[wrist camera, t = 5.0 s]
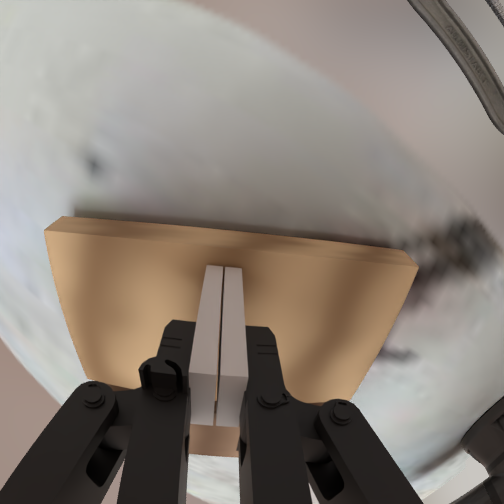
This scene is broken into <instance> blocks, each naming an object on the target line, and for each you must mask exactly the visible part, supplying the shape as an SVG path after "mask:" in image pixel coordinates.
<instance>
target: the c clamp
mask: <svg viewBox="0 0 504 504" xmlns="http://www.w3.org/2000/svg"><path fill="white" fill-rule="evenodd" d="M407 1H408V2H409V4H410V5H411V6H412V7H413V9H414V10H415V11H416V12H417V13H418V14H419V16H420V17H421V18H422V19H423V20H424V21H425V22H426V24H427V25H428V26H429V27H430V29H431V30H432V31H433V32H434V33H435V35H436V36H437V37H438V38H439V40H440V41H441V42H442V43H443V45H444V46H445V48H446V49H447V50H448V52H449V53H450V54H451V56H452V57H453V59H454V60H455V61H456V63H457V64H458V66H459V67H460V68H461V70H462V72H463V73H464V75H465V76H466V78H467V80H468V81H469V83H470V85H471V86H472V88H473V90H474V91H475V93H476V94H477V96H478V98H479V100H480V102H481V103H482V105H483V107H484V109H485V111H486V113H487V115H488V116H489V118H490V120H491V121H492V123H493V124H494V125H495V127H496V128H497V129H498V130H499V131H500V132H501V133H502V134H503V135H504V87H503V85H502V83H501V81H500V79H499V77H498V75H497V74H496V72H495V70H494V68H493V67H492V65H491V64H490V62H489V60H488V58H487V57H486V55H485V54H484V52H483V51H482V49H481V47H480V46H479V45H478V43H477V41H476V40H475V39H474V37H473V36H472V34H471V33H470V32H469V30H468V29H467V28H466V26H465V25H464V23H463V22H462V21H461V19H460V18H459V17H458V16H457V14H456V13H455V12H454V11H453V9H452V8H451V7H450V6H449V4H448V3H447V1H446V0H407ZM485 1H486V2H487V3H488V4H489V6H490V7H491V9H492V10H493V11H494V13H495V14H496V16H497V17H498V19H499V20H500V22H501V23H502V25H503V26H504V9H503V6H501V3H499V1H498V0H485Z"/></svg>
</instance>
